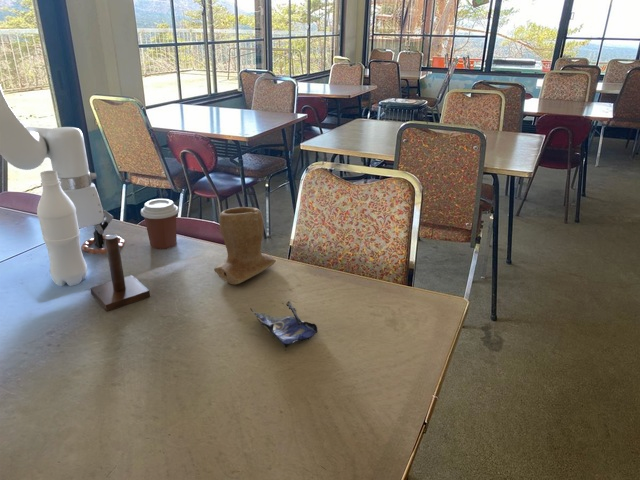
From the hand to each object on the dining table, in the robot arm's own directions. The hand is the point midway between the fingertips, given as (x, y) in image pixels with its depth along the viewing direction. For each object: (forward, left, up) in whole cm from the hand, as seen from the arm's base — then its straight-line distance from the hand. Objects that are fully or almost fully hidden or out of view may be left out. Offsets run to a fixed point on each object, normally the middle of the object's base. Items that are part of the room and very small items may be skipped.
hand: (86, 250), depth 120 cm
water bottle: (-8, -14, -1) cm, 16 cm away
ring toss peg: (-2, -26, -1) cm, 26 cm away
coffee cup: (+16, -9, -1) cm, 19 cm away
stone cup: (+24, -33, -1) cm, 41 cm away
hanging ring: (+4, 0, 0) cm, 4 cm away
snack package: (+16, -59, -1) cm, 61 cm away
